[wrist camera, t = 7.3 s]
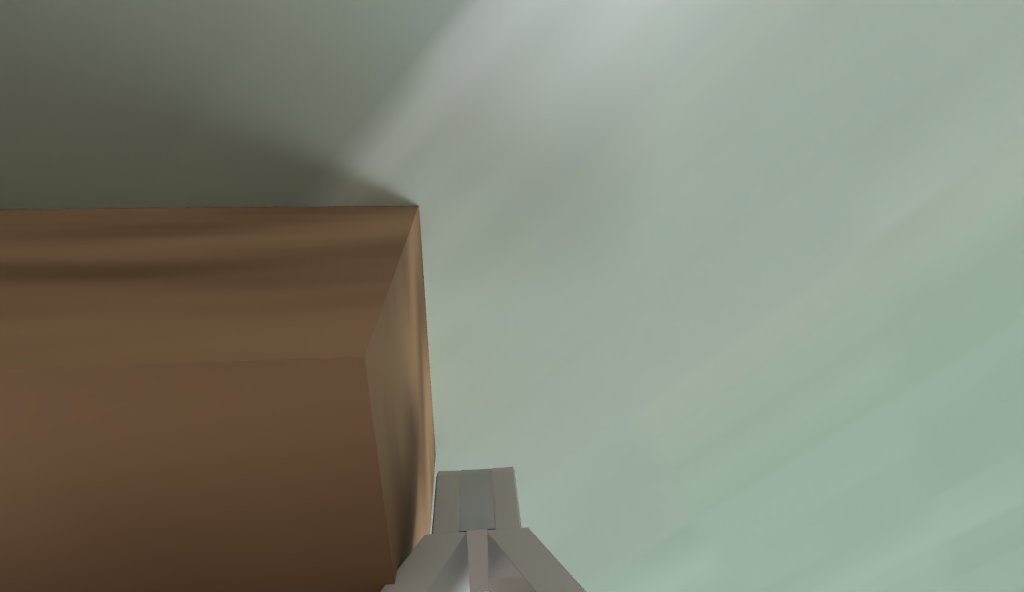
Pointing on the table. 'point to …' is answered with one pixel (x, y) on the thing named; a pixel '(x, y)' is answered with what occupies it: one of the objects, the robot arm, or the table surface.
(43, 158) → the table surface
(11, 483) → the walnut block
